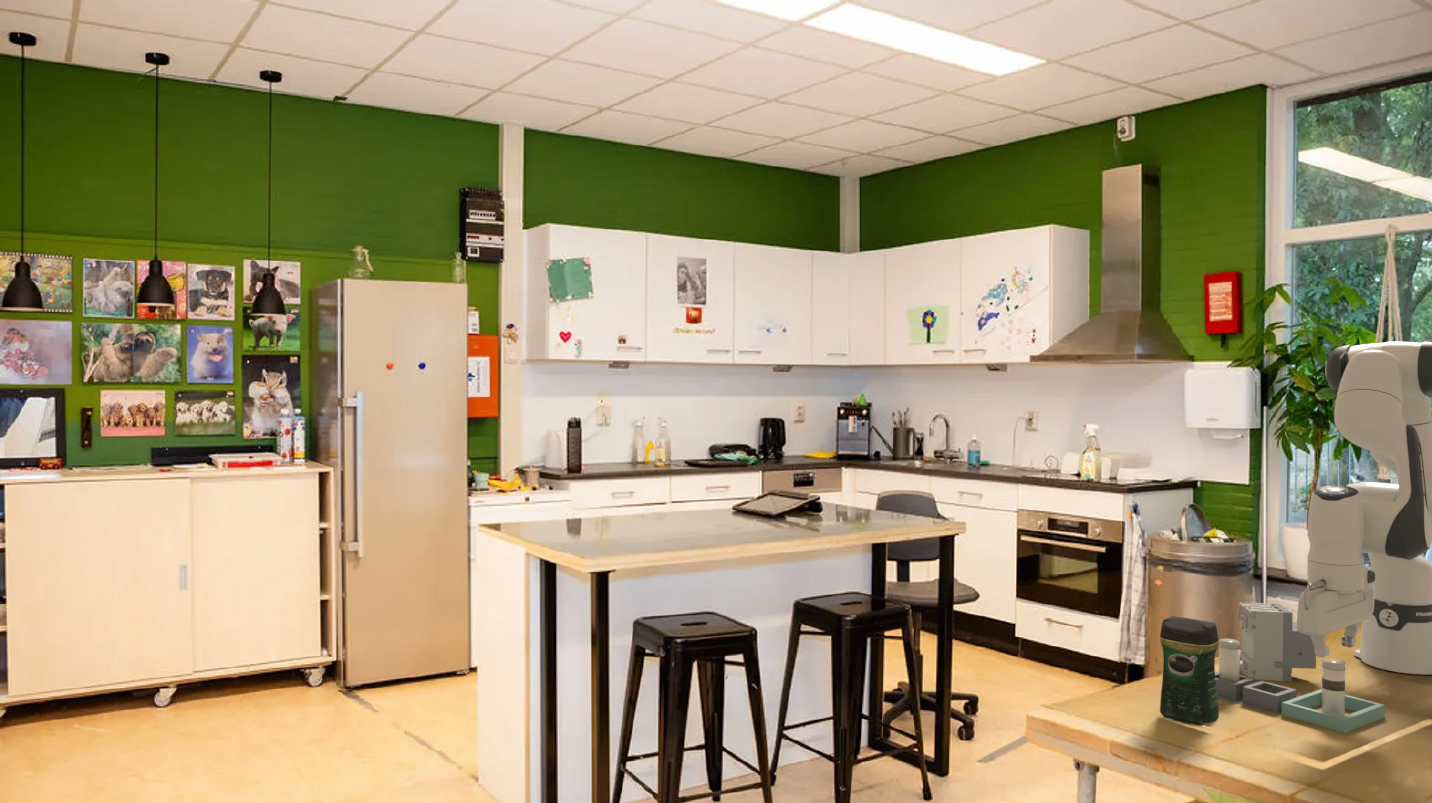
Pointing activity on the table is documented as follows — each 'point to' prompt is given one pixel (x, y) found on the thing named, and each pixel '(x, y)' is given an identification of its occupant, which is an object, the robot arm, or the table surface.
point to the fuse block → (1254, 693)
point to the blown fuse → (1333, 687)
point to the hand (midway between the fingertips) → (1335, 651)
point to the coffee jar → (1189, 670)
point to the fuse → (1229, 660)
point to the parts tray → (1301, 711)
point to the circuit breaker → (1272, 643)
